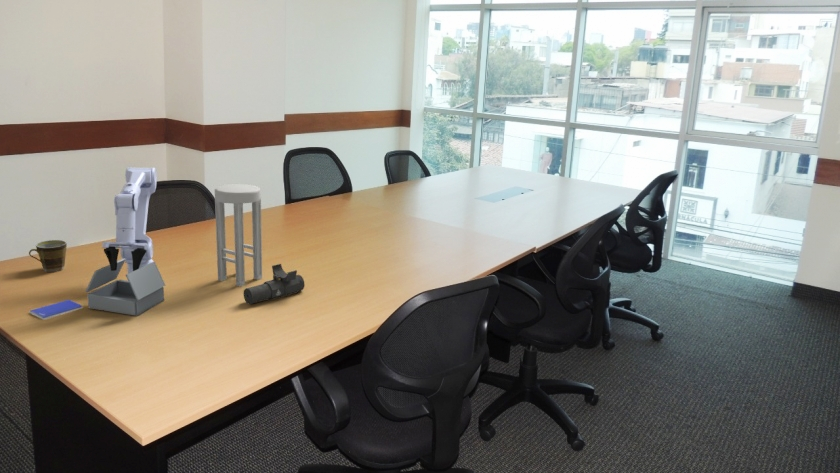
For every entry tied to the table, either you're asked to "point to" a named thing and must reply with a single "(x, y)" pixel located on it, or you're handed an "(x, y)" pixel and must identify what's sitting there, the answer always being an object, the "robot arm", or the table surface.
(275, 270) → the laser sight
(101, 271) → the flap
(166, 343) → the table surface
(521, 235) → the table surface
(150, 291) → the flap
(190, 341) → the table surface
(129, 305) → the carton
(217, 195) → the stool
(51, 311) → the hard drive
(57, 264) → the ceramic cup
